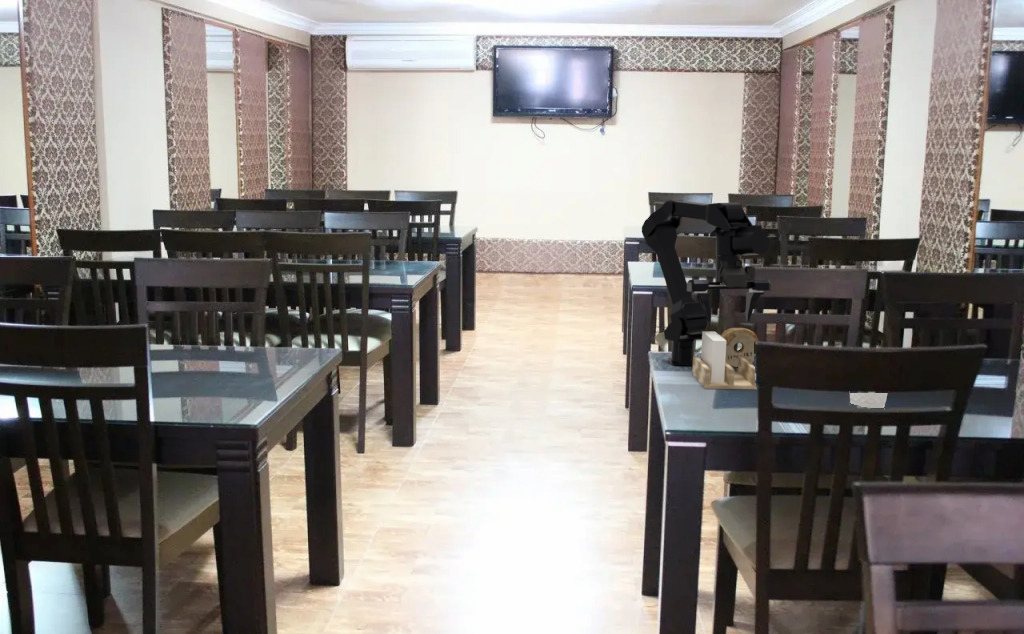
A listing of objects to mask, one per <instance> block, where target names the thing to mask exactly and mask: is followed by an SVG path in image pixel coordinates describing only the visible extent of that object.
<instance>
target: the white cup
mask: <svg viewBox="0 0 1024 634" xmlns="http://www.w3.org/2000/svg"><path fill="white" fill-rule="evenodd" d="M887 396H888V393H850V392H849V404H850V403H851V404H854V405H859V406H861V407H870V408H884V407H885V408H886V406H885V405H886V402H887ZM885 408H884V409H885Z"/></svg>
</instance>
